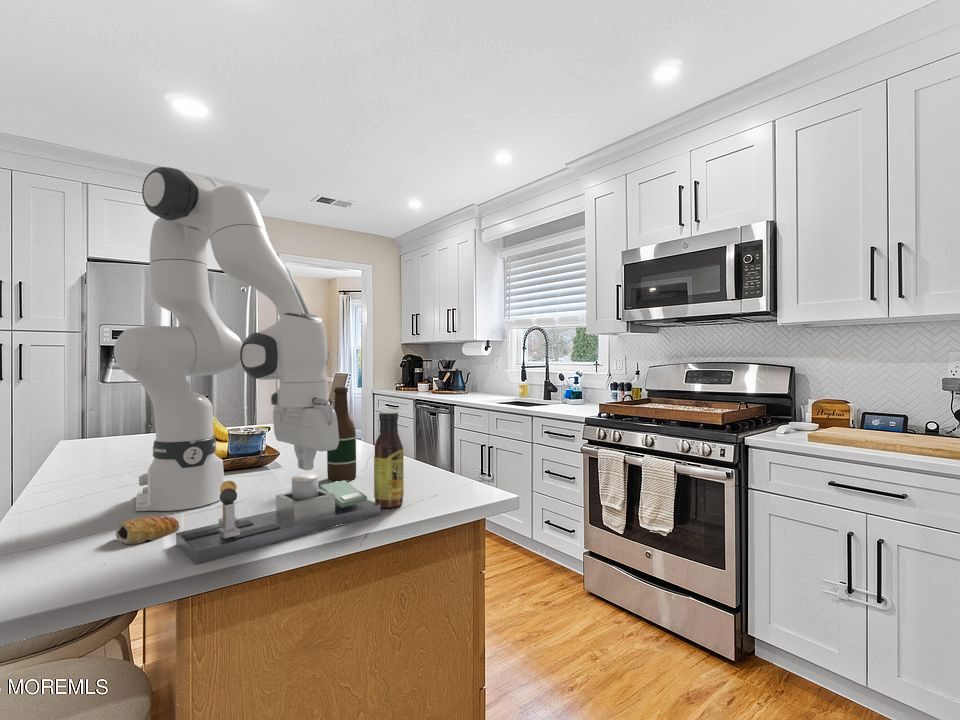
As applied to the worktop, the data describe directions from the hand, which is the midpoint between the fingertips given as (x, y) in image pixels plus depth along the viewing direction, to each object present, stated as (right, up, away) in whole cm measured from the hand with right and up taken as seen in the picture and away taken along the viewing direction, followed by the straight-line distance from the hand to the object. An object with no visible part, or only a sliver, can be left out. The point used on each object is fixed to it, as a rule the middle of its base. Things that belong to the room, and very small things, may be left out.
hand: (305, 469), depth 96 cm
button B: (0, -6, 0) cm, 6 cm away
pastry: (-27, -11, -6) cm, 30 cm away
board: (-3, -11, -3) cm, 11 cm away
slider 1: (-11, -8, -8) cm, 16 cm away
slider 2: (-8, -8, -13) cm, 17 cm away
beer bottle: (-3, -11, +36) cm, 37 cm away
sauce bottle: (+14, -10, +12) cm, 21 cm away
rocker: (+6, -6, +6) cm, 10 cm away
